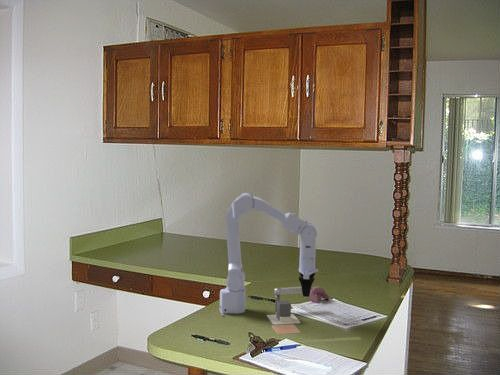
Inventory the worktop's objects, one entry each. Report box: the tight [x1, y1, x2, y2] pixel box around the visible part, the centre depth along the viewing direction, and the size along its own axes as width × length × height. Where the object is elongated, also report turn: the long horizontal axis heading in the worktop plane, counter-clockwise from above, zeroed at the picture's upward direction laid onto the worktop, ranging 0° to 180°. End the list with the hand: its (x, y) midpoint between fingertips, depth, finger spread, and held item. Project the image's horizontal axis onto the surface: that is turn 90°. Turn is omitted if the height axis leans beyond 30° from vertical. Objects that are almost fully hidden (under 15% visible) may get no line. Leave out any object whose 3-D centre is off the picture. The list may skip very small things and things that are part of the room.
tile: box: [271, 324, 301, 335], centre depth 173 cm, size 8×8×1 cm
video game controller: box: [307, 286, 330, 304], centre depth 207 cm, size 10×5×7 cm, turn 141°
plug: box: [277, 299, 292, 321], centre depth 182 cm, size 4×4×6 cm
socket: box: [266, 295, 302, 326], centre depth 185 cm, size 10×14×7 cm
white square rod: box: [274, 286, 311, 296], centre depth 192 cm, size 2×14×2 cm, turn 107°
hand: (306, 294), depth 189 cm, fingers open, 5 cm apart
